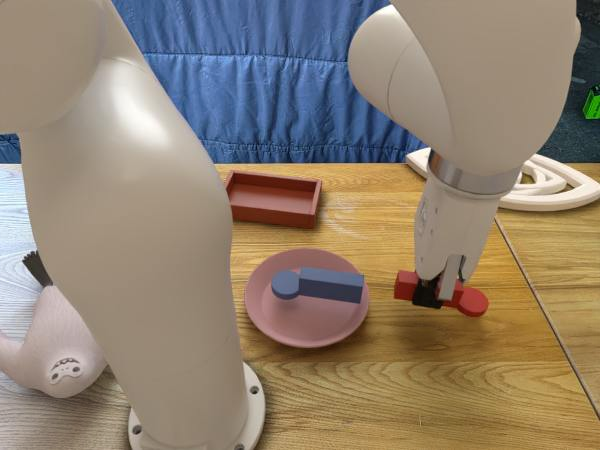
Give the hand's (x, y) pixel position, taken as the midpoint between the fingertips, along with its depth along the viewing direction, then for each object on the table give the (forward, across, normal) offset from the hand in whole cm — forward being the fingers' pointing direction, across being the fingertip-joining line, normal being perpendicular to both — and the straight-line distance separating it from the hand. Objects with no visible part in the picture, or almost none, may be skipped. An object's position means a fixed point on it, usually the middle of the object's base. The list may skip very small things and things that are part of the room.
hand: (425, 295), depth 50 cm
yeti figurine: (+1, +3, -44) cm, 44 cm away
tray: (+3, -15, -21) cm, 26 cm away
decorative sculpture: (0, -29, -2) cm, 29 cm away
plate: (+3, +2, -13) cm, 14 cm away
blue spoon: (+1, +1, -12) cm, 12 cm away
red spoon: (0, 0, +2) cm, 2 cm away
